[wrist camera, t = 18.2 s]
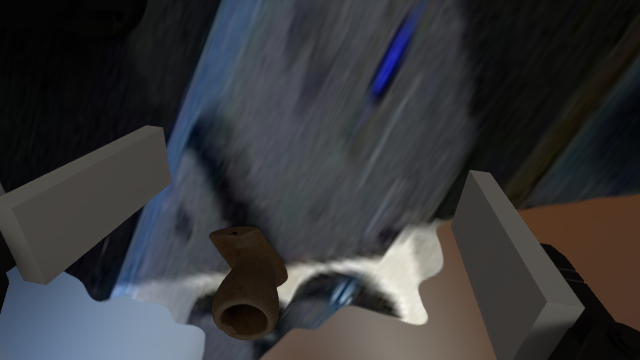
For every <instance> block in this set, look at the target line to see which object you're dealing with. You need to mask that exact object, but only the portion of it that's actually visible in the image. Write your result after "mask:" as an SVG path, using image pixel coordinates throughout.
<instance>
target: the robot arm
mask: <svg viewBox="0 0 640 360" xmlns="http://www.w3.org/2000/svg"><path fill="white" fill-rule="evenodd" d="M146 2H147V0H0V28H5V27H24V26H41V25H54V26H57V27H60V28H63V29H66V30H69V31H72V32H75V33H78V34H81V35H85V36H88V37H94V38H107V37H117V36H121V35H124V34H126V33H128V32H129V31H131V30H132V29H133V28H134V27H135V26H136V25H137V24H138V22H139V21H140V19H141V17H142V15H143V13H144V10H145V7H146ZM170 183H171V176H170V170H169V164H168V158H167V151H166V145H165V139H164V132H163V128H161V127H154V126H145V127H143V128H140V129H138V130H136V131H134V132H132V133H130V134H128V135H126V136H124V137H122V138H120V139H118V140H116V141H114V142H112V143H110V144H108V145H106V146H103V147H101V148H99V149H97V150H95V151H93V152H91V153H89V154H87V155H85V156H83V157H81V158H79V159H77V160H75V161H73V162H71V163H69V164H66V165H64V166H62V167H60V168H58V169H56V170H54V171H52V172H50V173H48V174H46V175H44V176H42V177H40V178H38V179H36V180H34V181H32V182H29V183H27V184H25V185H23V186H21V187H19V188H17V189H15V190H13V191H11V192H9V193H7V194H5V195H3V196H1V197H0V313H1V309H2V306H3V302H4V299H5V296H6V292H7V288H8V285H9V280H8V277H7V275H6V272H7V271H9V270H10V269H12V268H13V267H15V266H17V268H18V270H19V272H20V274H21V276H22V278H23V280H24V281H29V282H33V283H39V284H44V285H47V284H48V283H49V282H51V281H52V280H53V279H54V278H56V277H57V276H58V275H59V274H60V273H62V272H63V271H64V270H65V269H67V268H68V267H69V266H70V265H71V264H73V263H74V262H75V261H76V260H78V259H79V258H80V257H81V256H82V255H84V254H85V253H86V252H87V251H88V250H90V249H91V248H92V247H93V246H95V245H96V244H97V243H98V242H99V241H101V240H102V239H103V238H104V237H106V236H107V235H108V234H109V233H110V232H112V231H113V230H114V229H115V228H116V227H118V226H119V225H120V224H121V223H123V222H124V221H125V220H126V219H127V218H129V217H130V216H131V215H132V214H134V213H135V212H136V211H137V210H138V209H140V208H141V207H142V206H143V205H145V204H146V203H147V202H148V201H149V200H151V199H152V198H153V197H154V196H155V195H157V194H158V193H159V192H160V191H162V190H163V189H164V188H165V187H166V186H168V185H169V184H170ZM451 228H452V231H453V234H454V236H455V239H456V242H457V245H458V248H459V251H460V254H461V257H462V259H463V262H464V265H465V268H466V271H467V274H468V277H469V280H470V283H471V286H472V288H473V292H474V294H475V297H476V300H477V303H478V306H479V309H480V312H481V315H482V317H483V320H484V323H485V326H486V329H487V332H488V335H489V338H490V341H491V344H492V346H493V349H494V352H495V355H496V358H497V360H640V332H639V331H637V330H635V329H633V328H631V327H629V326H627V325H625V324H622V323H618V322H615V320H614V319H613V318H612V316H611V315H610V314H609V313H608V311H607V310H606V309H605V307H604V306H603V305H602V303H601V302H600V301H599V300H598V298H597V297H596V296H595V294H594V293H593V292H592V291H591V289H590V288H589V287H588V285H587V284H585V283H584V280H583V279H582V278H581V276H580V275H579V274H578V273H577V272H575V269H574V267H573V266H572V265H571V264H570V262H569V261H568V260H567V258H566V257H565V256H564V255H562V254H561V253H560V252H558V251H557V250H556V249H555V248H554V247H552V246H551V245H548V244H542V243H539V242H538V241H537V239H536V238H535V237H534V235H533V234H532V232H531V231H530V229H529V228H528V227H527V225H526V224H525V222H524V221H523V219H522V218H521V217H520V215H519V214H518V212H517V211H516V209H515V208H514V207H513V205H512V204H511V202H510V201H509V199H508V198H507V197H506V195H505V194H504V192H503V191H502V190H501V188H500V187H499V185H498V184H497V182H496V181H495V180H494V178H493V177H492V175H491V174H490V173H487V172H480V171H472V170H470V171H469V174H468V177H467V180H466V183H465V186H464V189H463V192H462V195H461V198H460V201H459V204H458V207H457V210H456V213H455V215H454V218H453V221H452V224H451Z"/></svg>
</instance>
